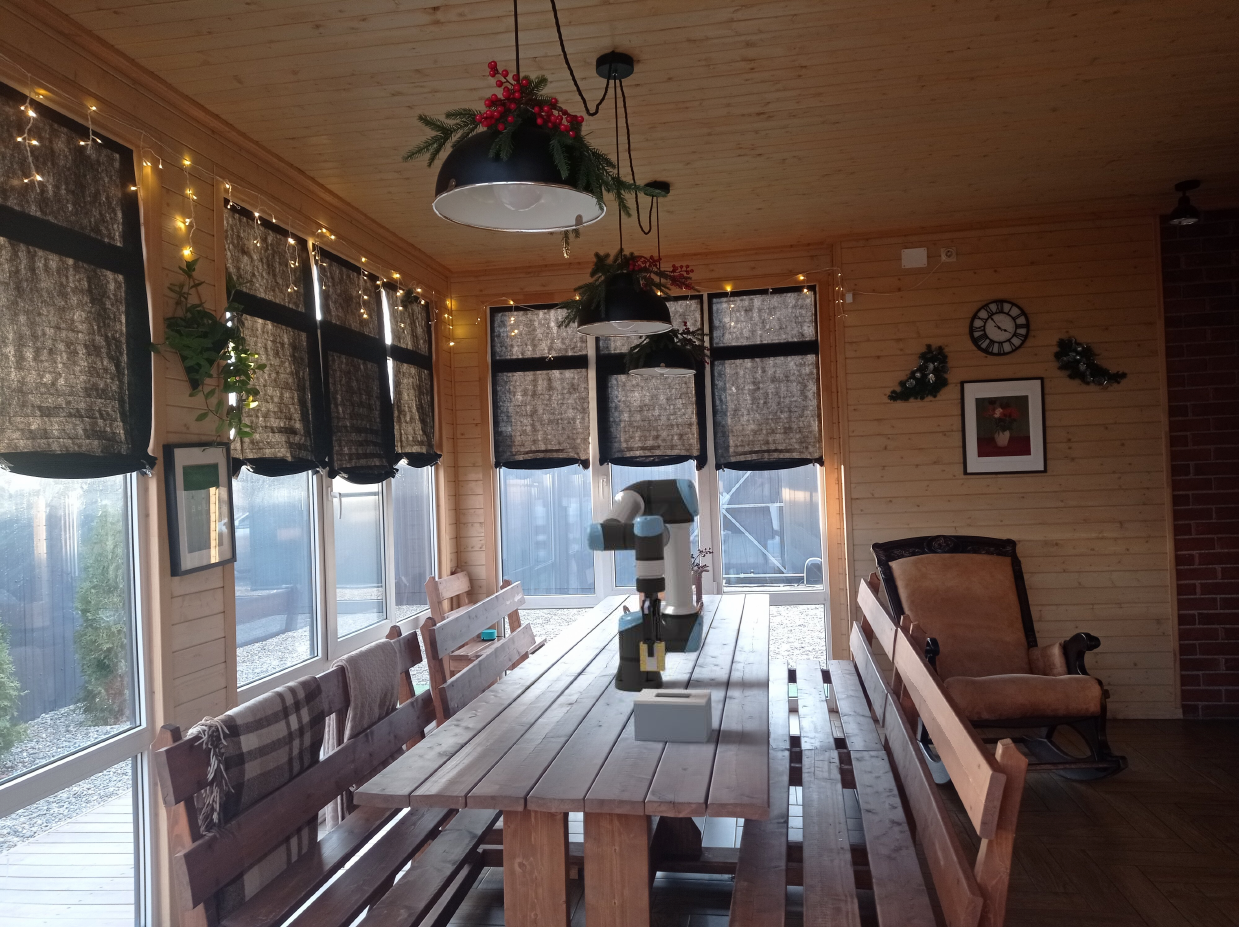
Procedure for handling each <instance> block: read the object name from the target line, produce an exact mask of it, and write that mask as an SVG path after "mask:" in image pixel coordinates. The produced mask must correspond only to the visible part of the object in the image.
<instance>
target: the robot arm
mask: <svg viewBox="0 0 1239 927" xmlns="http://www.w3.org/2000/svg"><path fill="white" fill-rule="evenodd" d="M612 505H613V506H612V507H611V509H610V510H609V512H608V513H607V515H606V517H604V519H603V521H602V522H596V523H590V524H589V525H588V527H587V528H586V529H587V530H586V543H587V547H588V550H591V551H592V552H593V551H596V552H598V551H599V552H612V551H613V552H614V551H615V552H618V551H621V552H622V551H623V552H624V551H634V552H635V554H634V556H635V558H634V559H635V562H634V564H633V567H634V568H635V575H636V576H637V577H636V579H635V591H636V592H637V593H640V594H643V599H642V601H641V602H642V603H641V604H640V609H639V610H635V611H630V612H627V613H624V614H621V615H620V616H619V618H618V622H617V623H618V627H617V632H618V633H617V634H618V653H619V654H618V655H619V656H618V657H619V659H618V660H619V662H618V666H617V670H616V674H615V677H614V687H615V689H618V690H621V691H627V692H641V691H642V690H643V689H661V688H662V687H663V685H664V683H663V676H662V671H641V669H640V643H641V642H642V643H643V644H646V667H647V670H657V669H658V668H657V644H655V643H656V642H665V654H667V653H668V654H669V653H670V654H672V653H673V654H675V653H677V654H690V653H691V654H692V653H698V652H699V651H700V648H701V645H702V640H703V634H704V633H703V632H704V618H705V617H704V615H703V614H701V613H699V608H698V607H697V606H696V605H695V604H694V596H693V594H694V592H693V573H692V571H693V568H692V549H691V548H692V547H691V526H692V525H694V523H695V522H696V521H695V518H696V517H699V515H700V507H699V506H700V503H699V498H698V493H697V489H696V485H695V482H693V480H691V479H689V478H665V479H644V480H639V481H635V482H633V483H631V484H629V485H627V486H626V487H624V488H623V489H621V490H620V491H619V492H618V493H617V494H616V496H615V497H614V498H613V503H612ZM663 592H664V596H665V597H664V598H665V601H664V602H665V605H664V606H663V607H662V599H661V598H659V593H663ZM661 607H662V608H661Z"/></svg>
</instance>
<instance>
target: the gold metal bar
mask: <svg viewBox="0 0 1239 927" xmlns="http://www.w3.org/2000/svg"><path fill="white" fill-rule="evenodd" d="M655 644H657V668H658V669H657V670H647V667H646V644H643V643H642V642H641V643H640V669H641V671H660V672H665V670H666V655H665V654H666V653H665V642H656V643H655Z"/></svg>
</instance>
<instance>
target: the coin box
mask: <svg viewBox="0 0 1239 927" xmlns="http://www.w3.org/2000/svg"><path fill="white" fill-rule="evenodd" d="M632 702H633V724H634V728H633V729H634V730H633V732H634V741H646V742H648V741H649V742H673V743H674V742H675V743H676V742H677V743H678V742H679V743H700V744H701V743H704V744H707V742H708V739H709V738H710V735H711V733H712V730H713V708H712V690H709V689H708V690H706V689H704V690H703V689H698V690H697V689H670V688H669V689H668V688H666V689H662V688H657V689H643V690H642V691H639V693H638V695H636V697H635V698H634V699H633V701H632Z"/></svg>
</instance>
